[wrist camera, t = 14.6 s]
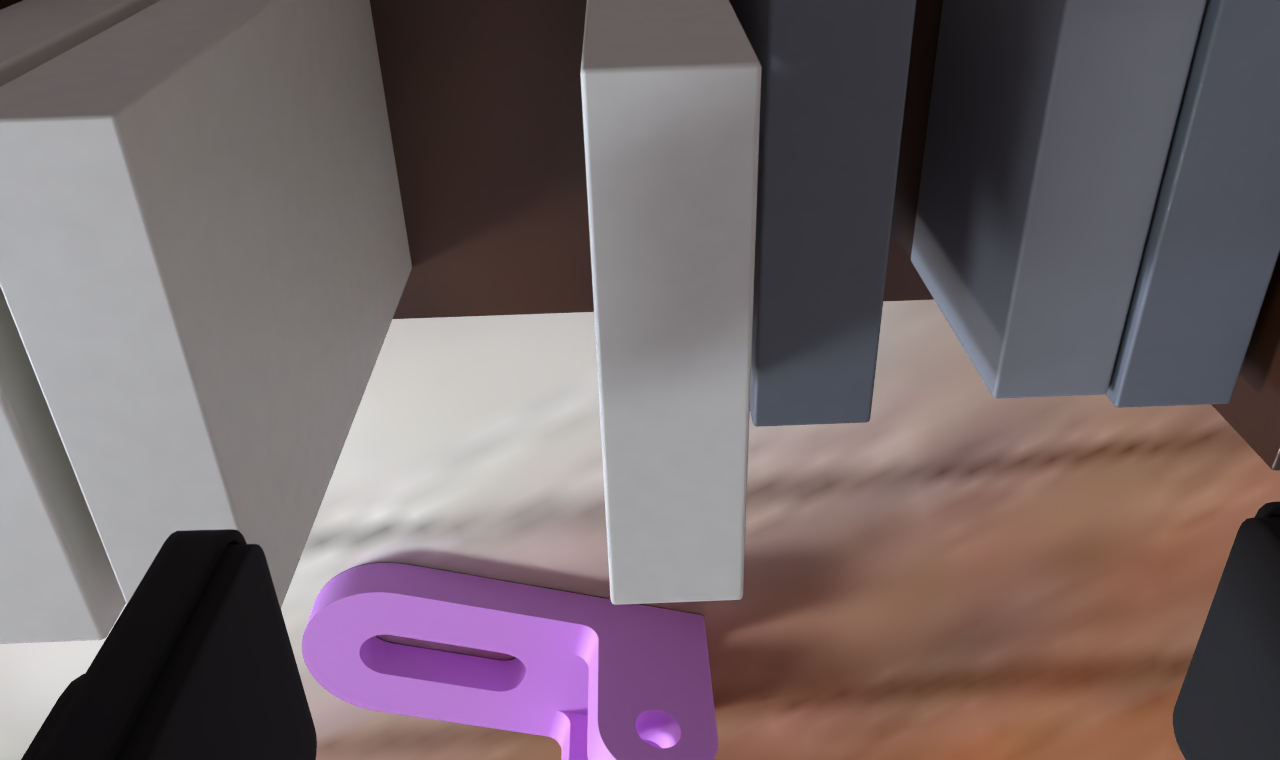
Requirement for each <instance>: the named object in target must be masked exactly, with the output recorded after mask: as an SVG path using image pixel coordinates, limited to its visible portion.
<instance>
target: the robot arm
mask: <svg viewBox="0 0 1280 760" xmlns="http://www.w3.org/2000/svg"><path fill="white" fill-rule="evenodd" d="M1173 727H1174V733H1175V737H1176V740H1177V743H1178V745H1179V748H1180V750H1181V752H1182V754H1183V755H1184V757H1185V759H1186V760H1280V502H1271V503H1266V504H1265V505H1264V506H1262V507H1261V508H1260V509H1259V510H1258V512H1257V514H1256V516H1255V518H1249V519H1246V520H1245V521H1244V522H1243V523H1242V524H1241V526H1240V528H1239V530H1238V533H1237V535H1236V538H1235V541H1234V544H1233V546H1232V549H1231V552H1230V555H1229V558H1228V560H1227V563H1226V566H1225V569H1224V571H1223V574H1222V577H1221V580H1220V583H1219V585H1218V588H1217V591H1216V594H1215V596H1214V599H1213V602H1212V605H1211V608H1210V610H1209V613H1208V616H1207V619H1206V621H1205V624H1204V627H1203V630H1202V633H1201V635H1200V638H1199V641H1198V644H1197V646H1196V649H1195V652H1194V655H1193V658H1192V660H1191V663H1190V666H1189V669H1188V671H1187V674H1186V677H1185V680H1184V683H1183V685H1182V688H1181V691H1180V694H1179V696H1178V699H1177V702H1176V705H1175V708H1174V712H1173ZM316 748H317V741H316V732H315V727H314V724H313V720H312V717H311V713H310V710H309V706H308V703H307V699H306V696H305V692H304V689H303V685H302V682H301V678H300V675H299V671H298V668H297V664H296V661H295V657H294V654H293V650H292V647H291V644H290V640H289V637H288V633H287V630H286V626H285V623H284V619H283V616H282V612H281V609H280V605H279V602H278V598H277V595H276V591H275V588H274V584H273V581H272V577H271V574H270V570H269V567H268V563H267V560H266V556H265V554H264V551H263V549H262V548H261V546H260V545H258V544H247V543H246V541H245V538H244V536H243V535H242V534H241V533H240V532H239V531H238V530H234V529H225V530H186V531H176V532H174V533H172V534H170V536H169V537H168V538H167V539H166V541H165V542H164V544H163V545H162V547H161V549H160V550H159V552H158V554H157V555H156V557H155V559H154V560H153V562H152V564H151V565H150V567H149V569H148V570H147V572H146V574H145V575H144V577H143V579H142V580H141V582H140V584H139V585H138V587H137V589H136V590H135V592H134V594H133V595H132V597H131V599H130V600H129V602H128V604H127V605H126V607H125V609H124V610H123V612H122V614H121V615H120V617H119V619H118V620H117V622H116V624H115V625H114V627H113V629H112V630H111V632H110V634H109V635H108V637H107V639H106V640H105V642H104V644H103V645H102V647H101V649H100V650H99V652H98V654H97V655H96V657H95V659H94V660H93V662H92V664H91V665H90V667H89V669H88V670H87V672H86V674H83V675H81V676H80V677H78V678H77V679H75V680H74V681H72V682H71V683H70V684H69V686H68V687H67V688H66V689H65V691H64V692H63V693H62V694H61V696H60V697H59V699H58V700H57V702H56V704H55V705H54V707H53V709H52V710H51V712H50V713H49V715H48V717H47V718H46V720H45V722H44V723H43V725H42V726H41V728H40V730H39V731H38V733H37V735H36V736H35V738H34V740H33V741H32V743H31V744H30V746H29V748H28V749H27V751H26V753H25V754H24V756H23V757H22V759H21V760H315V759H316Z"/></svg>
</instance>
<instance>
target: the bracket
mask: <svg viewBox="0 0 1280 760" xmlns="http://www.w3.org/2000/svg"><path fill="white" fill-rule="evenodd" d="M377 635H394V636H400V637H406V638H412V639H419V640H425V641H431V642H437V643H443V644H450V645H456V646H462V647H468V648H474V649H481V650H487V651H493V652H499V653H505V654H509V655H512V656H514V657H516V659H513V660H507V661H501V660H494V659H487V658H481V657H475V656H469V655H462V654H456V653H450V652H444V651H437V650H431V649H425V648H419V647H412V646H406V645H400V644H394V643H389V642H385V641H383V640H381V639H379V638H377V637H376V636H377ZM302 653H303V658H304V661H305V664H306V666H307V668H308V670H309V671H310V673H311V674H312V676H313V677H314V678H315V679H316V681H317V682H318V683H319V684H320V685H321V686H322V687H324V688H325V689H326V690H327V691H329V692H330V693H332V694H333V695H335V696H336V697H338V698H340V699H342V700H344V701H346V702H348V703H350V704H353V705H356V706H359V707H362V708H366V709H370V710H375V711H381V712H388V713H395V714H401V715H408V716H415V717H421V718H428V719H435V720H442V721H448V722H455V723H462V724H468V725H475V726H482V727H488V728H495V729H502V730H508V731H515V732H522V733H528V734H535V735H542V736H548V737H551V738H553V739H555V740H556V741H557V742H558V743H559V744H560V746H561V749H562V758H561V760H714V759H715V756H716V753H717V749H718V736H717V727H716V718H715V709H714V700H713V691H712V682H711V673H710V664H709V655H708V646H707V637H706V629H705V620H704V615H698V614H692V613H686V612H681V611H675V610H669V609H663V608H657V607H652V606H646V605H640V604H618V605H615V604H612V602H611V599H605V598H599V597H594V596H588V595H582V594H576V593H570V592H565V591H559V590H553V589H547V588H541V587H536V586H530V585H524V584H518V583H512V582H507V581H501V580H495V579H489V578H483V577H478V576H472V575H466V574H460V573H454V572H449V571H443V570H437V569H431V568H425V567H420V566H414V565H408V564H401V563H373V564H367V565H362V566H358V567H355V568H352V569H349V570H347V571H345V572H343V573H341V574H339V575H337V576H336V577H335V578H333V579H332V580H331V581H329V582H328V583H327V584H326V585H325V586H324V587H323V589H322V590H321V591H320V593H319V594H318V596H317V598H316V601H315V603H314V606H313V609H312V612H311V615H310V617H309V620H308V623H307V626H306V629H305V632H304V635H303V640H302Z"/></svg>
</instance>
